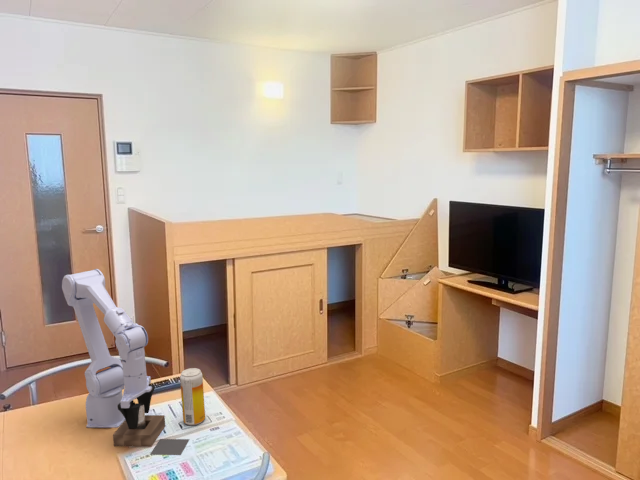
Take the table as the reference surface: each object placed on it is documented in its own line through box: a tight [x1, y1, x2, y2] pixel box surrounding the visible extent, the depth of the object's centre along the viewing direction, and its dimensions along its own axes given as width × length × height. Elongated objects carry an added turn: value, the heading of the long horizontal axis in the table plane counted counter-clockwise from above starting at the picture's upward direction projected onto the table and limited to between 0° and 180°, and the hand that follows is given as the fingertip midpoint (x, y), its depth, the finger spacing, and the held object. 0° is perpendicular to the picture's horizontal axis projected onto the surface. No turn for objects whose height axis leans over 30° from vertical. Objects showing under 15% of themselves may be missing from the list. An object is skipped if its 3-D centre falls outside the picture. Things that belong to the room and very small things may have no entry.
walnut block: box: [112, 414, 166, 448], centre depth 134 cm, size 10×10×4 cm
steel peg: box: [134, 403, 146, 429], centre depth 133 cm, size 3×3×9 cm
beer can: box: [179, 367, 206, 426], centre depth 140 cm, size 6×6×15 cm
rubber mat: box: [149, 438, 190, 456], centre depth 129 cm, size 8×7×1 cm
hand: (139, 419), depth 133 cm, fingers open, 7 cm apart
